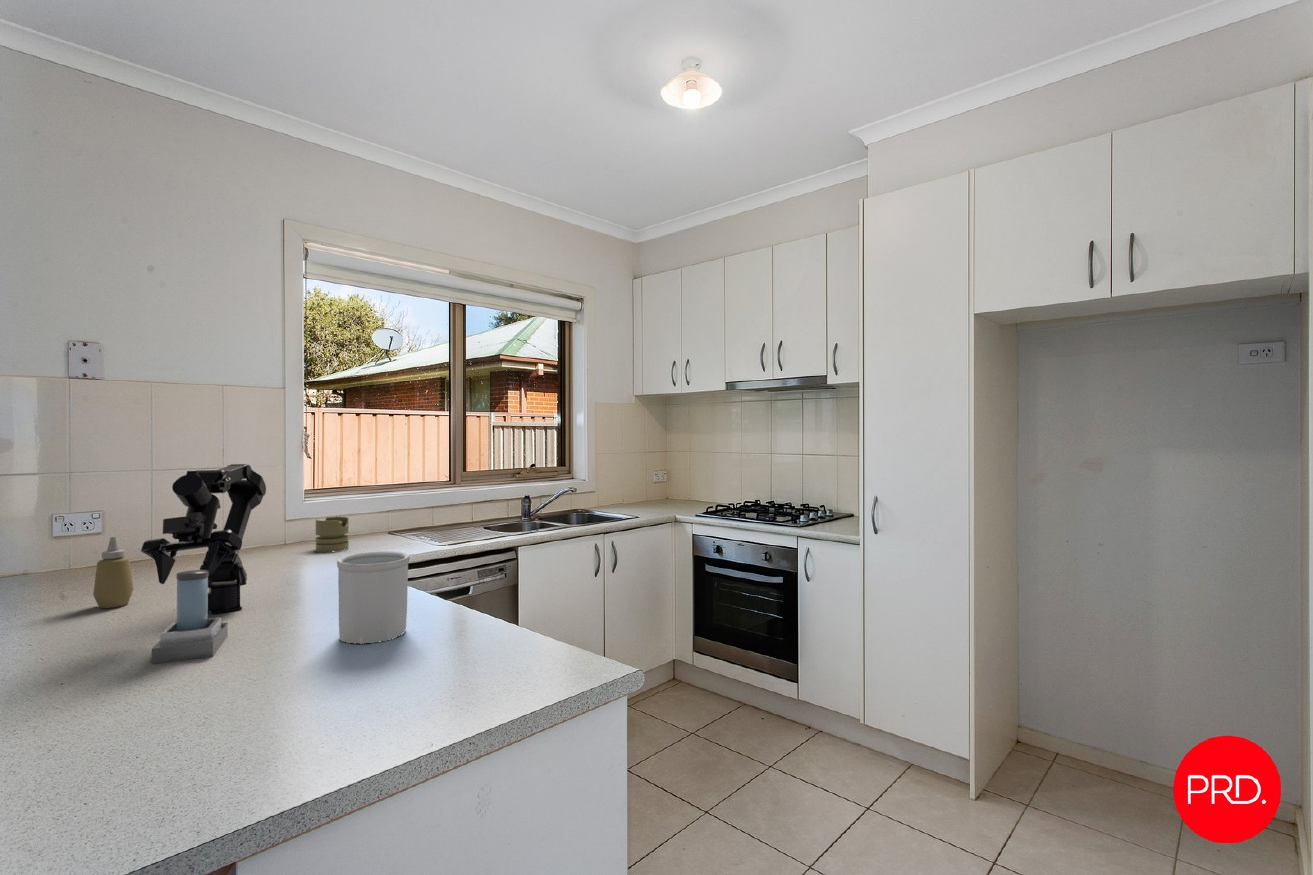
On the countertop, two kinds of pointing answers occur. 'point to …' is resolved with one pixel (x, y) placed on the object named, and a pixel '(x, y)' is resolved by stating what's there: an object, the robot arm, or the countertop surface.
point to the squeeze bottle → (113, 577)
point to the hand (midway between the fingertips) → (183, 580)
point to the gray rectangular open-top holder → (189, 642)
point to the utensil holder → (372, 596)
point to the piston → (332, 534)
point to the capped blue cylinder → (192, 600)
